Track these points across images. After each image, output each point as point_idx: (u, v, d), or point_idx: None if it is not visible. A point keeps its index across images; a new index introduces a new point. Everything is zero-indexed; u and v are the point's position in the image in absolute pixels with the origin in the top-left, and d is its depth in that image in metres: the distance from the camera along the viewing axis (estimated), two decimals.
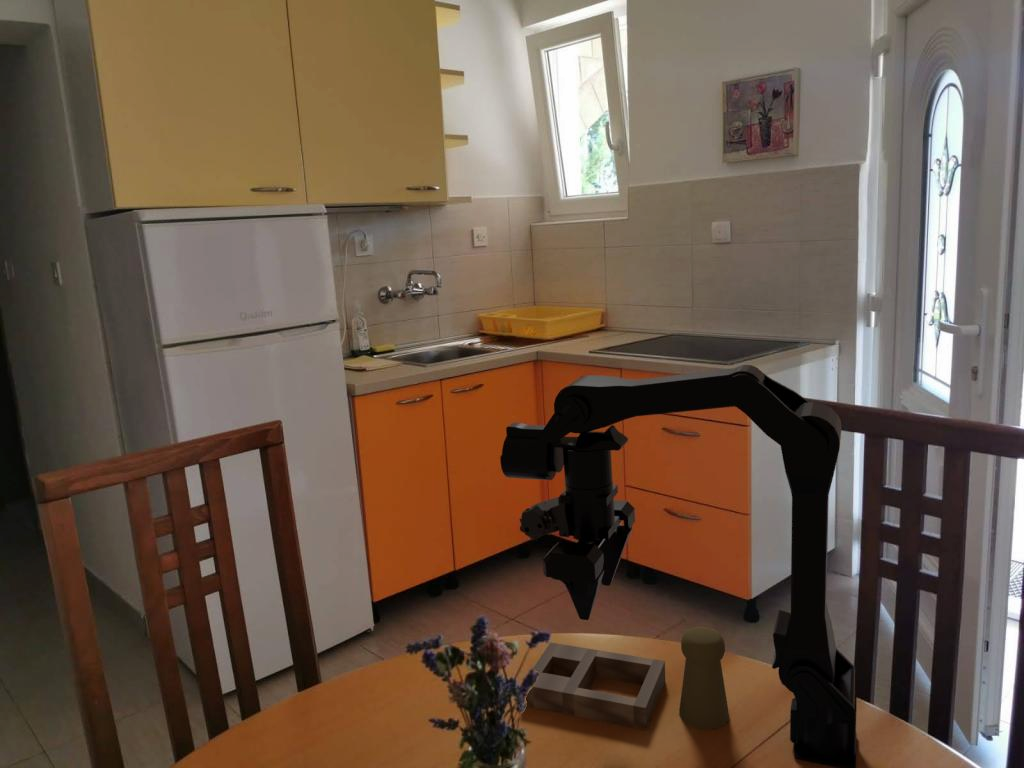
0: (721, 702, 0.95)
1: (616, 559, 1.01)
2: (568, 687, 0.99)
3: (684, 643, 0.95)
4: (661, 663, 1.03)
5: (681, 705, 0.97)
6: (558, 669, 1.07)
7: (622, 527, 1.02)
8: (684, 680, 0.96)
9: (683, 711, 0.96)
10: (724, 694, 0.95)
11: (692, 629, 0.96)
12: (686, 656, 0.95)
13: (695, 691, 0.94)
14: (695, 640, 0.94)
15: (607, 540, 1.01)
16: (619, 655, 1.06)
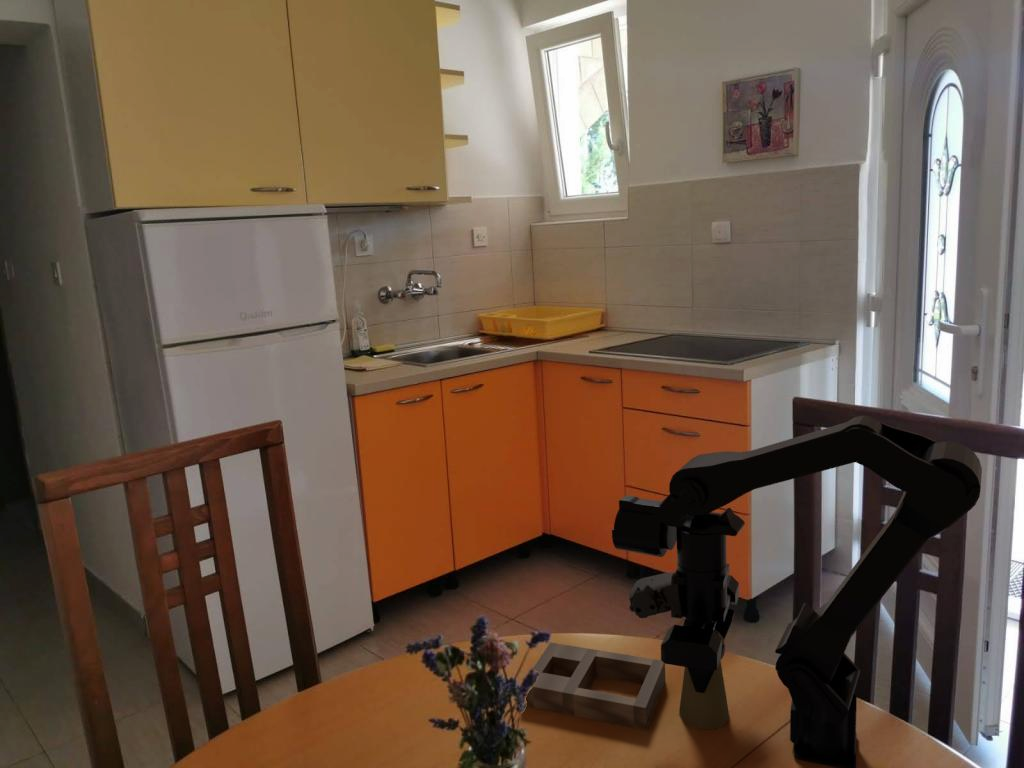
0: (721, 702, 0.95)
1: None
2: (568, 687, 0.99)
3: None
4: (661, 663, 1.03)
5: (681, 705, 0.97)
6: (558, 669, 1.07)
7: None
8: (684, 680, 0.96)
9: (683, 711, 0.96)
10: (724, 694, 0.95)
11: None
12: None
13: (695, 691, 0.94)
14: None
15: None
16: (619, 655, 1.06)
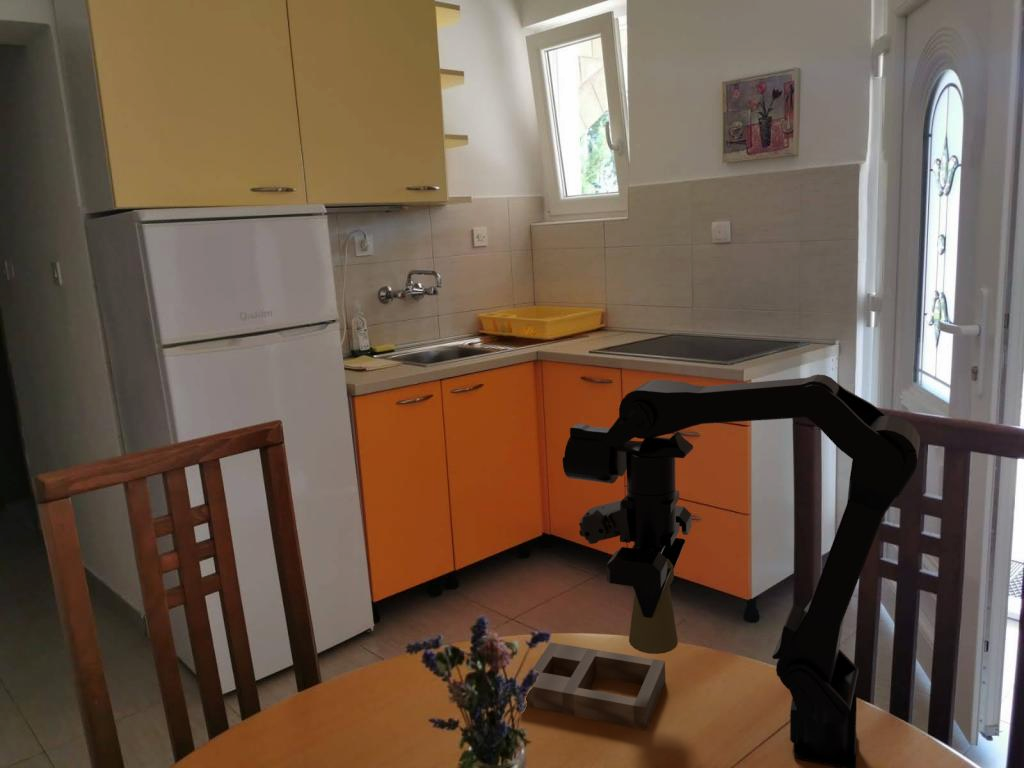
0: (669, 628, 0.95)
1: None
2: (568, 687, 0.99)
3: None
4: (661, 663, 1.03)
5: (630, 632, 0.98)
6: (558, 669, 1.07)
7: (675, 539, 0.99)
8: (633, 606, 0.97)
9: (632, 637, 0.97)
10: (672, 620, 0.96)
11: None
12: None
13: (643, 616, 0.95)
14: None
15: None
16: (619, 655, 1.06)
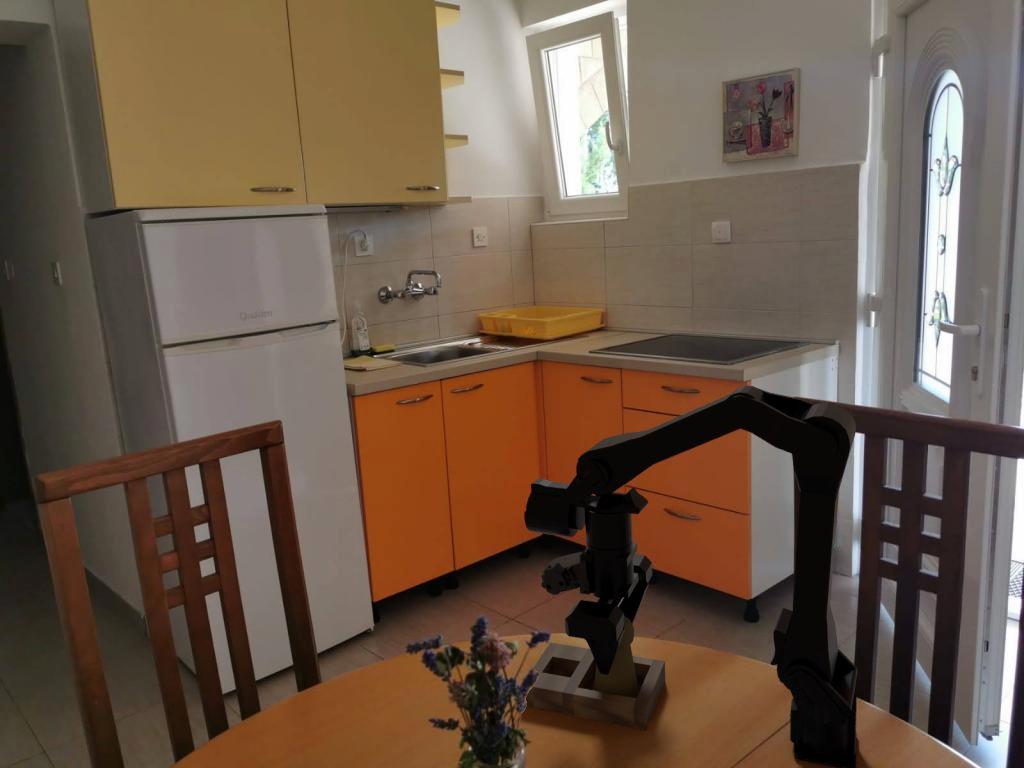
0: (630, 686, 0.99)
1: (633, 613, 1.03)
2: (568, 687, 0.99)
3: None
4: (661, 663, 1.03)
5: (594, 689, 1.01)
6: (558, 669, 1.07)
7: (639, 581, 1.05)
8: (596, 665, 1.01)
9: None
10: (634, 678, 1.00)
11: None
12: None
13: (605, 675, 0.99)
14: None
15: None
16: None
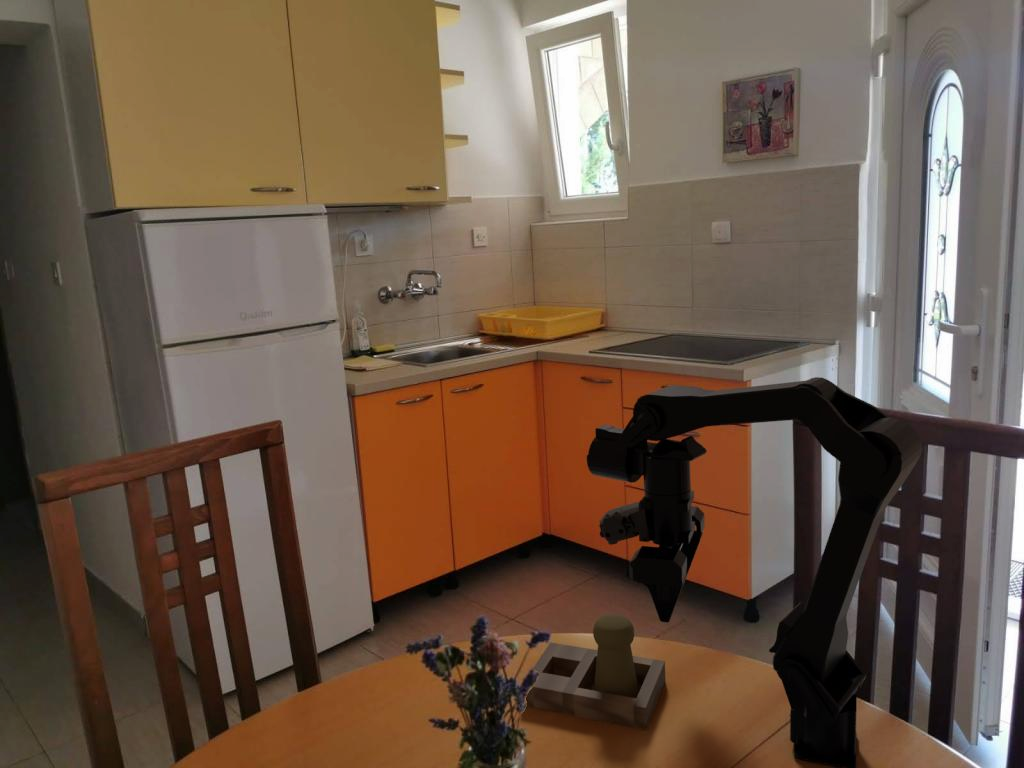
0: (630, 686, 0.99)
1: (688, 563, 1.04)
2: (568, 687, 0.99)
3: (595, 630, 0.99)
4: (661, 663, 1.03)
5: (594, 689, 1.01)
6: (558, 669, 1.07)
7: None
8: (596, 665, 1.01)
9: None
10: (634, 678, 1.00)
11: (604, 616, 1.01)
12: (597, 642, 0.99)
13: (605, 675, 0.99)
14: (605, 626, 0.98)
15: None
16: None
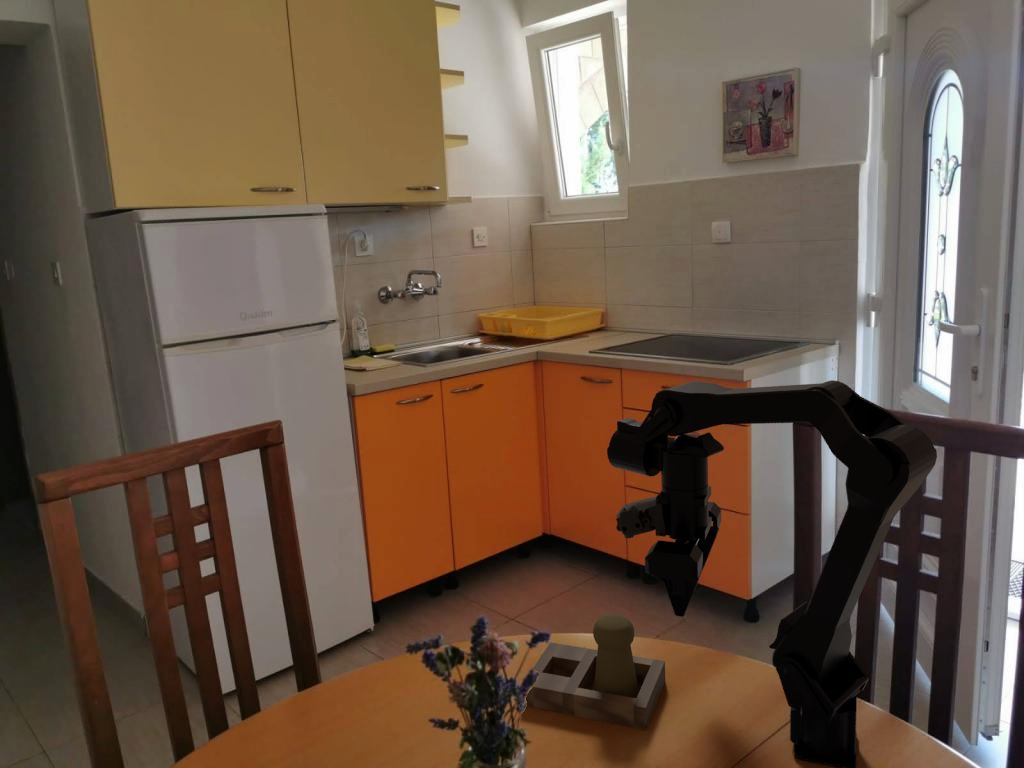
0: (630, 686, 0.99)
1: (704, 558, 1.04)
2: (568, 687, 0.99)
3: (595, 630, 0.99)
4: (661, 663, 1.03)
5: (594, 689, 1.01)
6: (558, 669, 1.07)
7: (709, 527, 1.06)
8: (596, 665, 1.01)
9: None
10: (634, 678, 1.00)
11: (604, 616, 1.01)
12: (597, 642, 0.99)
13: (605, 675, 0.99)
14: (605, 626, 0.98)
15: None
16: None
